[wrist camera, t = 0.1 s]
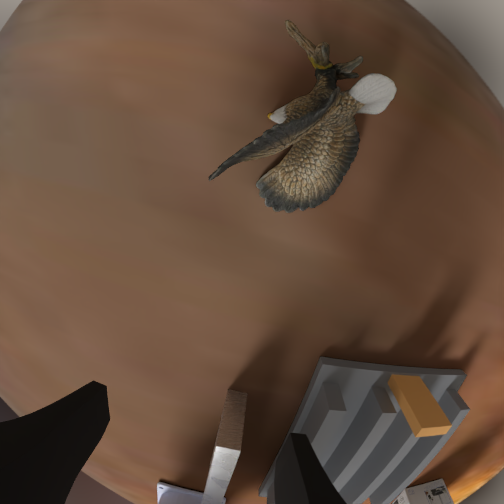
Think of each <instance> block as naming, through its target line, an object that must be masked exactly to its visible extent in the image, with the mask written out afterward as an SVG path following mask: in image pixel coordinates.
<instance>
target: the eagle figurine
mask: <svg viewBox="0 0 504 504" xmlns="http://www.w3.org/2000/svg"><path fill="white" fill-rule="evenodd" d="M285 25H286V28H287V31H288V33H289V35H290V36H291V37H292V38H294V39H295V40H296V42H297V43H298V44H299V45H300V46H301V47H302V48H303V49H304V50H305V51H306V52H307V55H308V59H309V60H310V61H311V63H312V65H313V67H314V68H315V69H316V70H315V76H316V79H317V83H316V85H315V87H314V89H313V90H312V91H311V92H310V93H309V94H308V95H305V96H301V97H298V98H296V99H294V100H292V101H291V102H290V103H288V104H286V105H285V106H283V107H281V108H279V109H277V110H276V111H275V112H273V113H269V114H268V118H269V119H271V120H272V121H274V122H276V123H279V124H276V125H274V126H273V127H272V128H271V129H269V130H266V131H265V132H264V133H263V135H262V136H261V137H258V138H256V139H255V140H254V141H253V142H251V143H249V144H248V145H247V146H245V147H243V148H242V149H240V150H239V151H238V152H237V153H235V154H234V155H232V156H231V157H230V158H228V159H227V160H226V161H225V162H223V163H222V164H221V165H220V166H219V167H218V169H217V170H216V171H215V172H214V173H213V174H212V175H210V176H209V181H210V180H212V179H214V178H215V177H217V176H218V175H220V174H221V173H222V172H224V171H225V170H226V169H227V168H229V167H230V166H232V165H234V164H237V163H240V162H243V161H250V160H256V159H261V158H264V157H267V156H270V155H274V154H276V153H278V152H280V151H282V150H284V149H286V148H287V147H289V146H291V145H293V144H294V145H293V147H292V148H291V149H290V150H289V152H288V153H287V154H286V156H285V157H284V158H283V160H282V161H281V162H280V163H279V164H278V165H276V166H275V167H274V168H272V169H271V170H269V171H268V172H267V173H266V174H265V175H264V176H262V177H261V178H260V179H259V181H258V182H257V183H256V186H257V188H259V189H260V193H259V195H260V197H262V198H265V205H266V206H267V207H272V208H273V210H274V211H276V212H279V211H282V210H285V212H287V213H291V212H293V211H295V210H296V209H297V208H298V207H299V208H300V210H302V211H304V210H306V209H307V208H308V207H310V208H315V207H316V206H318V205H320V204H321V203H322V202H323V201H327V200H328V199H329V197H330V196H331V195H333V194H334V193H335V190H336V188H337V187H338V186H339V185H340V183H341V182H342V180H343V176H345V175H346V173H347V171H348V170H349V168H350V165H351V163H352V162H353V161H354V159H355V157H356V155H357V151H358V149H359V148H358V144H359V142H360V138H359V132H357V126H356V125H355V124H354V123H355V121H356V120H355V118H354V117H353V116H354V115H355V114H356V113H368V114H379V113H381V112H382V111H384V110H385V109H386V107H387V106H388V105H389V103H390V102H391V101H392V100H393V99H394V97H395V93H396V90H397V88H396V86H395V84H394V82H393V81H392V80H391V79H389V78H388V77H387V76H384V75H382V74H374V73H372V74H368V75H366V76H364V77H363V78H361V79H360V80H359V81H358V82H357V83H356V84H355V85H354V86H353V87H352V88H351V89H349V90H346V91H344V92H340V90H341V89H340V88H339V87H336V82H337V80H341V79H346V78H357V77H359V75H358V74H357V73H351V72H352V70H353V69H354V68H355V67H357V66H358V65H359V64H360V63H362V61H363V57H362V56H359V57H357V58H356V59H354V60H353V61H351V62H347V63H338V64H335V65H333V64H332V63H331V62H330V61H329V44H327V43H326V42H322V43H320V44H319V45H318V46H317V47H316V46H315V45H313V44H312V43H311V42H310V41H309V40H308V39H306V38H305V37H304V36H303V35H302V34H301V33H300V32H299V30H298V28H297V27H296V26H295V25H294V24H293V23H292V22H291V21H289V20H286V21H285Z"/></svg>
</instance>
